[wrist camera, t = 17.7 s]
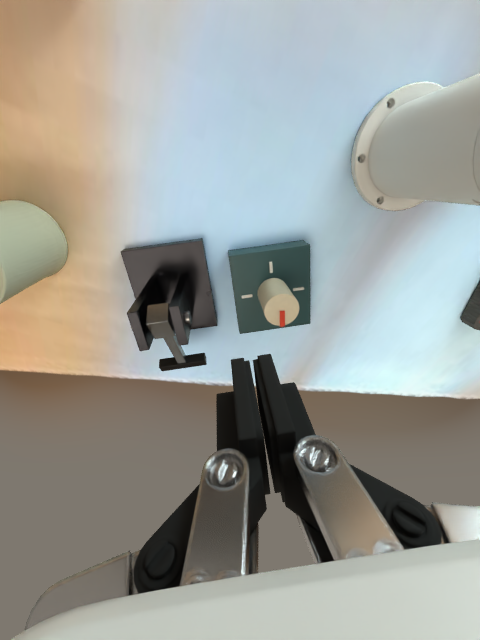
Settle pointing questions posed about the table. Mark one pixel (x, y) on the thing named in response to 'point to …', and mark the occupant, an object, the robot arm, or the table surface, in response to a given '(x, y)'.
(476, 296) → the walkie-talkie
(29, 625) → the robot arm
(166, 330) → the lever
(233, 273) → the dial panel
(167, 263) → the pivoting lever stand
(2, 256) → the can
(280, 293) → the dial
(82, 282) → the table surface
